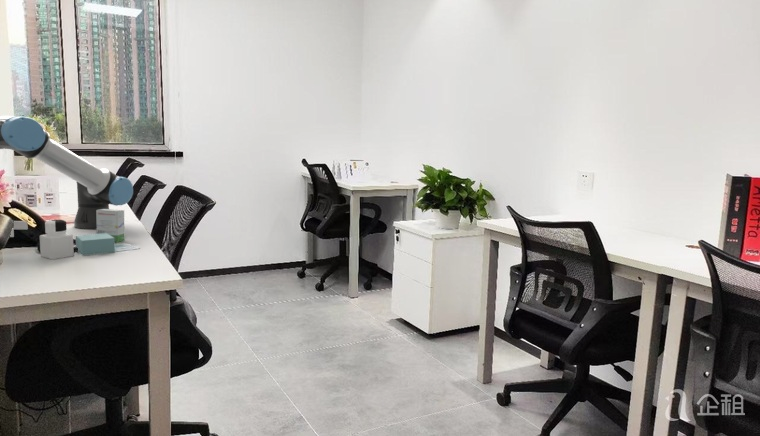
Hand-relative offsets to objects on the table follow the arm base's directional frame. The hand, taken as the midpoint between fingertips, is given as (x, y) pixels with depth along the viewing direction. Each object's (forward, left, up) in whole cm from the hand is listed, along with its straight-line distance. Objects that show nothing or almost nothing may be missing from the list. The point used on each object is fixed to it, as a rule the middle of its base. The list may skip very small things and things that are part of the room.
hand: (20, 228), depth 181 cm
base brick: (+2, +21, -9) cm, 23 cm away
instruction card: (0, +30, -9) cm, 32 cm away
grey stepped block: (+4, +9, -10) cm, 14 cm away
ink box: (-14, +30, -10) cm, 35 cm away
